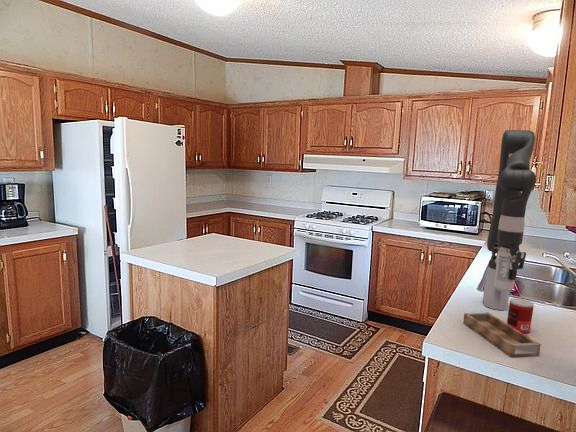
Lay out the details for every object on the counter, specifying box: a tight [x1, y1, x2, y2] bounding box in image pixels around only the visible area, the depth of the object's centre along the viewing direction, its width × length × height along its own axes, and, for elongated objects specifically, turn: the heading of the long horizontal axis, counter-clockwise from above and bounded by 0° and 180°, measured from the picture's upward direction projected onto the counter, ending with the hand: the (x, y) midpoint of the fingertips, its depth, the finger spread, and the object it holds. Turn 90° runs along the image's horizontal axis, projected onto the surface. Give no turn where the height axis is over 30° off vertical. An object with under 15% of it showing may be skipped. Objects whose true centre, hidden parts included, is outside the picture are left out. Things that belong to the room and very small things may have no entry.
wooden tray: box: [462, 312, 542, 358], centre depth 142 cm, size 26×10×4 cm, turn 10°
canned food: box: [506, 297, 535, 335], centre depth 149 cm, size 8×8×11 cm
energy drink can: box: [494, 246, 516, 292], centre depth 137 cm, size 6×6×15 cm
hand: (504, 276), depth 137 cm, fingers closed on energy drink can, 6 cm apart
